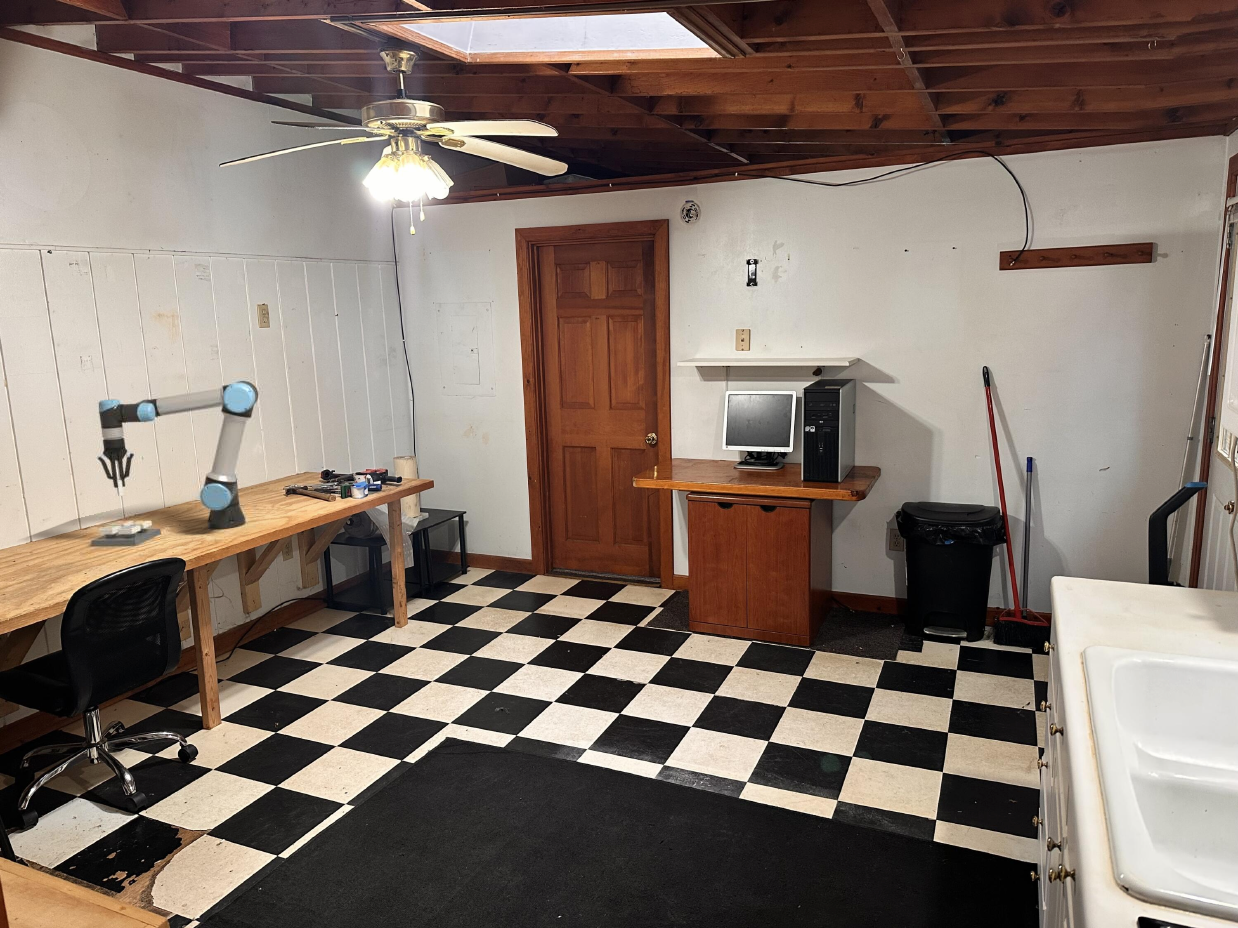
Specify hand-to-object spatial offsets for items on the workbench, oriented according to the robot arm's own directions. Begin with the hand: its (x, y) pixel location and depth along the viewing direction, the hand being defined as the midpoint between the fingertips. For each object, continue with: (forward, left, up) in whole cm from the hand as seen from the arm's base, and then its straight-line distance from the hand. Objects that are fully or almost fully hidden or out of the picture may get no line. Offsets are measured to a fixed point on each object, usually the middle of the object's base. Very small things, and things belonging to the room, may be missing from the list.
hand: (120, 495), depth 351 cm
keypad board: (0, 0, -19) cm, 19 cm away
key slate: (-4, +4, -17) cm, 18 cm away
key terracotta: (+4, -4, -17) cm, 17 cm away
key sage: (+4, +4, -17) cm, 17 cm away
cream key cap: (-4, -4, -17) cm, 18 cm away
